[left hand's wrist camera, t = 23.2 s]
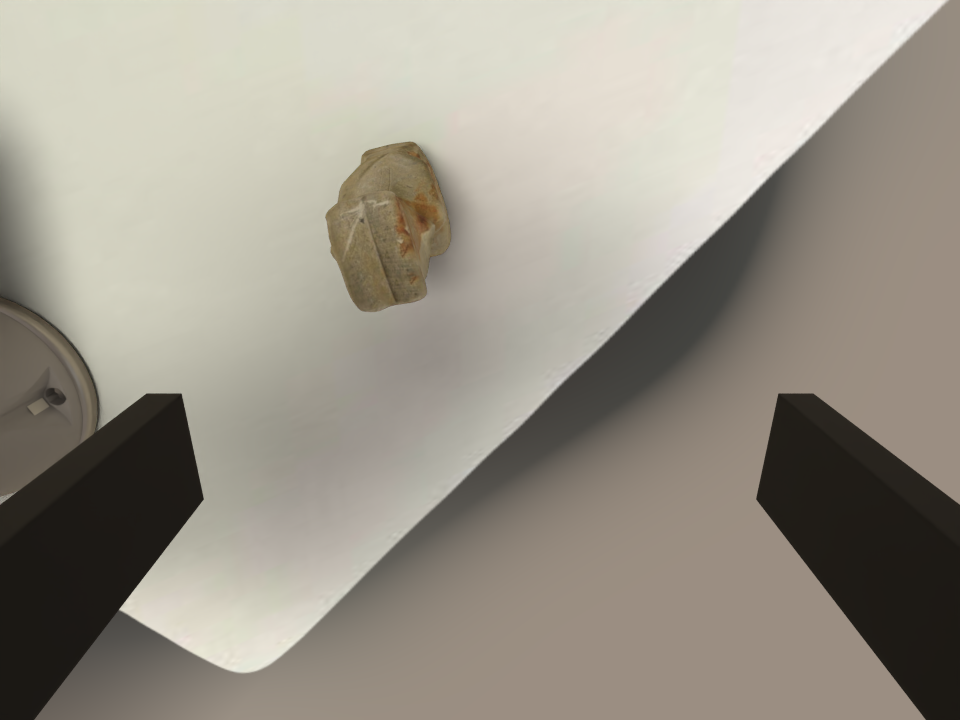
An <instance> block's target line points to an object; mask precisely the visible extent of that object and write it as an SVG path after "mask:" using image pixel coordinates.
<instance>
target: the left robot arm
mask: <svg viewBox="0 0 960 720" xmlns="http://www.w3.org/2000/svg"><path fill="white" fill-rule="evenodd" d="M97 412H98V408H97V398H96V393H95V389H94V386H93V383H92V380H91V378H90V375H89V373H88V371H87V369H86V367H85V365H84V363H83V362H82V360H81V359H80V357H79V356H78V354H77V353H76V351H75V350H74V349H73V347H72V346H71V345H70V344H69V343H68V342H67V340H66V339H65V338H64V337H63V336H62V335H61V334H60V333H59V332H58V331H57V330H56V329H54V328H53V327H52V326H51V325H50V324H48V323H47V322H46V321H45V320H43V319H42V318H40V317H39V316H37V315H36V314H34V313H33V312H31V311H29V310H28V309H26V308H24V307H22V306H20V305H18V304H16V303H14V302H12V301H9V300H7V299H4V298H1V297H0V497H1V496H4V495H7V494H10V493H13V492H16V491H18V492H17V493H15V494H14V495H13V496H11V497H10V498H9V499H7V500H6V501H5V502H3V503H2V504H1V505H0V720H34V719H35V718H36V717H37V715H38V714H39V713H40V711H41V710H42V709H43V707H44V706H45V705H46V704H47V702H48V701H49V700H50V698H51V697H52V696H53V694H54V693H55V692H56V691H57V689H58V688H59V687H60V685H61V684H62V683H63V681H64V680H65V679H66V678H67V676H68V675H69V674H70V672H71V671H72V670H73V668H74V667H75V666H76V665H77V663H78V662H79V661H80V659H81V658H82V657H83V655H84V654H85V653H86V652H87V650H88V649H89V648H90V646H91V645H92V644H93V643H94V641H95V640H96V639H97V637H98V636H99V635H100V633H101V632H102V631H103V629H104V628H105V627H106V626H107V624H108V623H109V622H110V620H111V619H112V618H113V617H114V615H115V614H116V613H117V611H118V610H119V609H120V607H121V606H122V605H123V604H124V602H125V601H126V600H127V598H128V597H129V596H130V594H131V593H132V592H133V591H134V589H135V588H136V587H137V585H138V584H139V583H140V581H141V580H142V579H143V578H144V576H145V575H146V574H147V572H148V571H149V570H150V568H151V567H152V566H153V565H154V563H155V562H156V561H157V559H158V558H159V557H160V555H161V554H162V553H163V552H164V550H165V549H166V548H167V546H168V545H169V544H170V542H171V541H172V540H173V539H174V537H175V536H176V535H177V533H178V532H179V531H180V529H181V528H182V527H183V526H184V524H185V523H186V522H187V520H188V519H189V518H190V517H191V515H192V514H193V513H194V511H195V510H196V509H197V507H198V506H199V505H200V504H201V502H202V501H203V500H204V498H203V493H202V488H201V484H200V479H199V474H198V469H197V465H196V460H195V455H194V450H193V446H192V441H191V436H190V431H189V427H188V422H187V417H186V412H185V408H184V403H183V398H182V394H146V395H144V396H143V397H142V398H140V399H139V400H138V401H136V402H135V403H134V404H132V405H131V406H130V407H128V408H127V409H126V410H124V411H123V412H122V413H121V414H119V415H118V416H117V417H115V418H114V419H113V420H111V421H110V422H109V423H107V424H106V425H105V426H103V427H102V428H101V429H99V430H98V431H97V432H95V428H96V423H97ZM94 432H95V433H94ZM756 499H757V501H758V502H759V504H760V505H761V506H762V507H763V509H764V510H765V511H766V513H767V514H768V515H769V516H770V518H771V519H772V520H773V522H774V523H775V524H776V526H777V527H778V528H779V529H780V531H781V532H782V533H783V535H784V536H785V537H786V539H787V540H788V541H789V542H790V544H791V545H792V546H793V548H794V549H795V550H796V552H797V553H798V554H799V555H800V557H801V558H802V559H803V561H804V562H805V563H806V564H807V566H808V567H809V568H810V570H811V571H812V572H813V574H814V575H815V576H816V578H817V579H818V580H819V581H820V583H821V584H822V585H823V587H824V588H825V589H826V591H827V592H828V593H829V594H830V596H831V597H832V598H833V600H834V601H835V602H836V604H837V605H838V606H839V607H840V609H841V610H842V611H843V612H844V614H845V615H846V617H847V618H848V619H849V620H850V622H851V623H852V624H853V626H854V627H855V628H856V630H857V631H858V632H859V633H860V635H861V636H862V637H863V639H864V640H865V641H866V642H867V644H868V645H869V646H870V648H871V649H872V650H873V652H874V653H875V654H876V656H877V657H878V658H879V659H880V661H881V662H882V663H883V665H884V666H885V667H886V668H887V670H888V671H889V672H890V674H891V675H892V676H893V677H894V679H895V680H896V681H897V683H898V684H899V685H900V687H901V688H902V689H903V691H904V692H905V693H906V694H907V696H908V697H909V698H910V700H911V701H912V702H913V704H914V705H915V706H916V707H917V709H918V710H919V711H920V713H921V714H922V715H923V717H924V718H925V719H926V720H960V505H959V504H958V503H957V502H955V501H954V500H953V499H951V498H950V497H949V496H947V495H946V494H945V493H943V492H942V491H941V490H940V489H938V488H937V487H936V486H934V485H933V484H932V483H930V482H929V481H928V480H926V479H925V478H924V477H922V476H921V475H920V474H918V473H917V472H916V471H914V470H913V469H912V468H911V467H909V466H908V465H907V464H905V463H904V462H903V461H901V460H900V459H899V458H897V457H896V456H895V455H893V454H892V453H891V452H890V451H888V450H887V449H886V448H884V447H883V446H882V445H880V444H879V443H878V442H876V441H875V440H874V439H872V438H871V437H870V436H868V435H867V434H866V433H865V432H863V431H862V430H861V429H859V428H858V427H857V426H855V425H854V424H853V423H851V422H850V421H849V420H847V419H846V418H845V417H843V416H842V415H841V414H839V413H838V412H837V411H836V410H834V409H833V408H832V407H830V406H829V405H828V404H826V403H825V402H824V401H822V400H821V399H820V398H818V397H817V396H816V395H814V394H778V398H777V403H776V408H775V412H774V417H773V422H772V427H771V431H770V436H769V441H768V446H767V451H766V455H765V460H764V465H763V469H762V474H761V479H760V484H759V488H758V493H757V498H756Z"/></svg>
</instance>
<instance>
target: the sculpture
mask: <svg viewBox="0 0 960 720" xmlns="http://www.w3.org/2000/svg"><path fill="white" fill-rule="evenodd" d="M325 218H326V220H327V225H328V233H329V239H330V242H331V254H332V256H333V257H334V259H335V260H336V261H337V263H338V265H339V268H340V270H341V273H342V276H343V278H344V281H345V284H346V287H347V290H348V292H349V294H350V297H351V299H352V300H353V302H354V303H355V305H356V306H357V307H358V308H359V309H360V310H361V311H365V312H377V311H381V310H383V309H385V308H387V307H389V306H393V305H398V304H405V303H411V302H415V301H418V300H421V299H422V298H424V297H425V296H426V293H427V290H426V284H425V278H426V276H427V273H428V267H429V259H430V257H433V256H437V255H441V254H443V253H444V252H445V251H446V250H447V248H448V247H449V245H450V240H451V232H450V224H449V219H448V214H447V210H446V206H445V203H444V200H443V197H442V194H441V191H440V188H439V185H438V182H437V180H436V177H435V174H434V172H433V169H432V167H431V165H430V163H429V161H428V160H427V158H426V156H425V155H424V153H423V152H422V150H421V149H420V147H419V146H418V145H417V144H416V143H414V142H404V143H397V144H391V145H387V146H383V147H379V148H375V149H371V150H368V151H366V152H365V153H364V154H363V155H362V158H361V165H360V166H359V167H358V168H357V169H356V170H355V171H354V172H353V173H352V174H351V175H350V176H349V177H348V179H347V180H346V181H345V182H344V183H343V184H342V186H341V189H340V192H339V198H338V203H337V204H336V205H334V206H333V207H332V208H331V209H330V210H329V211H328V212H327V214H326V217H325Z"/></svg>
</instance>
